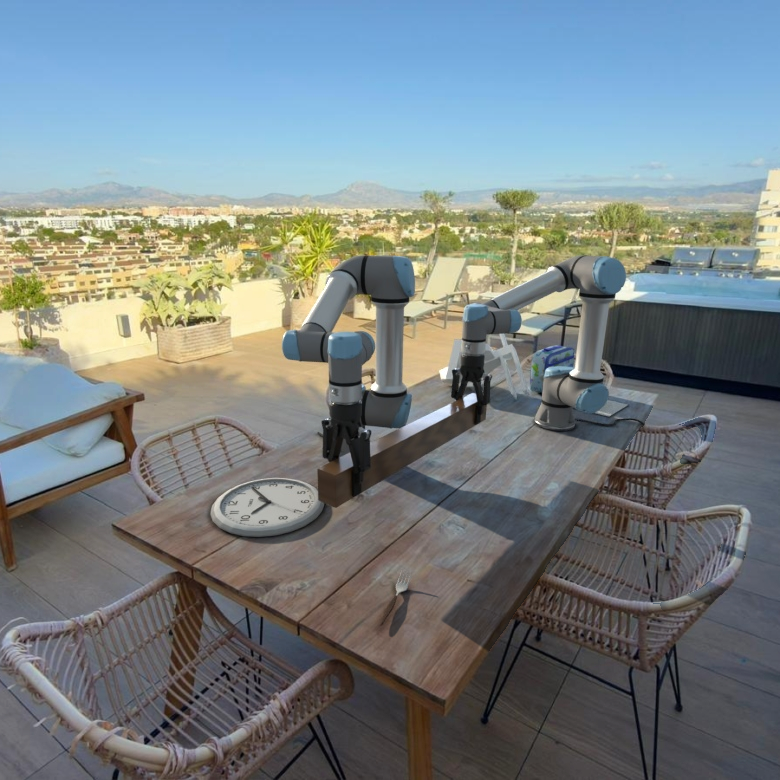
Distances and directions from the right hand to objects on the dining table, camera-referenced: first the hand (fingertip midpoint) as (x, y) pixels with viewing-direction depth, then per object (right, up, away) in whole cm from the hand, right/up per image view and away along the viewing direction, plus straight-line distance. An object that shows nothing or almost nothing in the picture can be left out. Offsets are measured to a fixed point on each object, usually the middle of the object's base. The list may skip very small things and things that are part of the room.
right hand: (468, 421), depth 174 cm
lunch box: (+50, +10, +74) cm, 90 cm away
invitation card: (+65, +3, +52) cm, 84 cm away
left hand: (-37, -14, -47) cm, 61 cm away
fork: (-25, -33, -67) cm, 79 cm away
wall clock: (-59, -21, -32) cm, 71 cm away
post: (-18, -8, -23) cm, 31 cm away
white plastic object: (+15, +9, +69) cm, 72 cm away
